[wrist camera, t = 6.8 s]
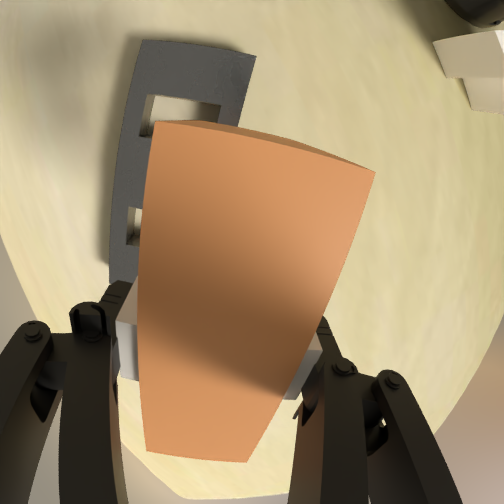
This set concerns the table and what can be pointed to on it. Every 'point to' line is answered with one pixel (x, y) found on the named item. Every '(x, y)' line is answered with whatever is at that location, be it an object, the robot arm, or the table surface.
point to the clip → (233, 278)
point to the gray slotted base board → (138, 116)
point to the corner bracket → (476, 67)
